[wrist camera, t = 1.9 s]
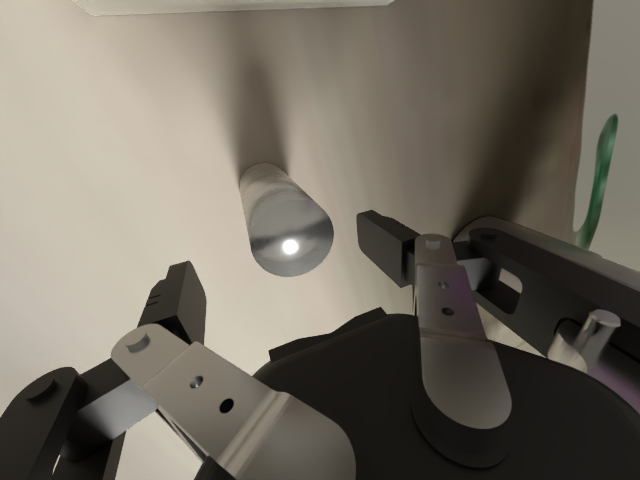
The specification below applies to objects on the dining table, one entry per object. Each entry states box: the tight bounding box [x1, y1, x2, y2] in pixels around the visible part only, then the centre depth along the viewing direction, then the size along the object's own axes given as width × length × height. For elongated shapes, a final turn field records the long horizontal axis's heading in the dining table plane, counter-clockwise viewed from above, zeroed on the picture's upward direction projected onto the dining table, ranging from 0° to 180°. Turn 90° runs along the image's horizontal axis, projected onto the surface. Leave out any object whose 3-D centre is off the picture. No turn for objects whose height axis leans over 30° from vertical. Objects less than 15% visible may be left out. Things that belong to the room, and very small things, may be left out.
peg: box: [239, 163, 334, 277], centre depth 16 cm, size 4×4×10 cm
